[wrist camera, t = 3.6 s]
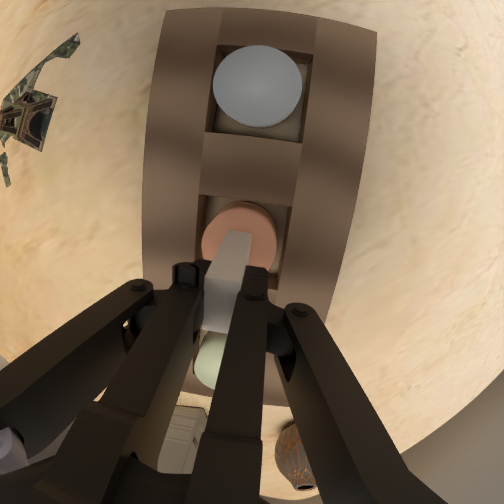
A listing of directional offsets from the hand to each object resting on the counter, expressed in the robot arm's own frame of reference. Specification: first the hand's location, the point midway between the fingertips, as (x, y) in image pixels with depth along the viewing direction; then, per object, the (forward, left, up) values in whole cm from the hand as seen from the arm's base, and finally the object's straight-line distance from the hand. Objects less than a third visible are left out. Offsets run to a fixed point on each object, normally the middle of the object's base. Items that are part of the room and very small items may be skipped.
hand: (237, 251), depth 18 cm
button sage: (+10, 0, -2) cm, 10 cm away
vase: (+24, +10, -4) cm, 26 cm away
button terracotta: (0, 0, -3) cm, 3 cm away
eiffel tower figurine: (-10, -21, -4) cm, 24 cm away
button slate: (-10, 0, -2) cm, 10 cm away
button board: (0, 0, -4) cm, 4 cm away
